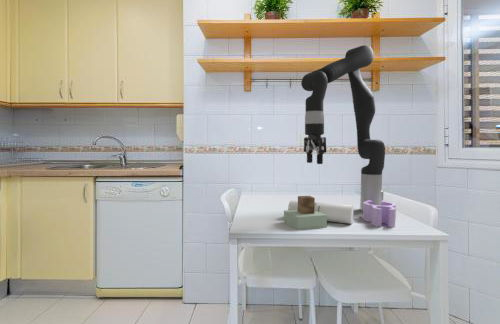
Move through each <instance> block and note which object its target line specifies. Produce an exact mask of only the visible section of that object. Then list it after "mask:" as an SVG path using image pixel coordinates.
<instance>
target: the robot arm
mask: <svg viewBox="0 0 500 324" xmlns="http://www.w3.org/2000/svg"><path fill="white" fill-rule="evenodd" d="M374 57H375V55H374V50H373V48H372V47H371V46H369V45H365V44H363V45H360V46H357V47H354V48H351V49H348V50H347V51H346V53H345V56H344V57H343V58H341V59H338V60H337V59H336V61H333V62H331V63H328V64H326V65H325V66H323V67H321V68H319V69H316V70H313V71H311V72H308V73H306V74H305V75H303V77H302V78H301V88H302V89H303V90H304V91H307V92H311V94H310V96H307V98H306V99H305V115H304V135H305V136H308V137H304V139H303V153H304V152H305V154H306V163H308V164H310V163H311V164H312V163H313V152H314V151H315V152H316V164H317V165H323V164H324V163H323V162H324V159H323V158H324V157H323V156H324V154H325V153H327V139H326V136H325V137H324V136H323V135H324V134H325V116H324V115H325V114H324V100H325V98H326V97H325V96H326V92H327V89H328V84H331V83H333V82H334V81H336V80H338V79H340V78H341V77H344V76H345V75H347V76H348V80H349V85H350V88H351V89H350V90H351V96H352V105H353V112H354V116H355V117H354V118H355V124H356V125H355V126H356V127H355V128H356V138H357V140H356V142H357V143H356V144H357V152H358V153H357V154H358V155H359V157H360V158H361V159H363V160H369V161H368V164H367V165H365V166H363V167H361V169H360V197H359V198H360V201H359V202H360V205H359V208H360V209H359V210H360V211H362V212H363V202H365V201H367V200H371V201H373V205H380V206H381V201H384V190H382V189H383V170H384V168H385V158H386V145H385V143H384V142H383V140H381V139H371V134H370V127H371V124H372V122H373V120H374V117H375V114H376V102H375V96H374V94H373V92H372V91H371V90H370V88H369V86H367V84H366V83H365V82H364V79H363V78H362V74H361V69H362V68H366V67H368V66H370V65H371V64H372V63H373V61H374V59H375V58H374ZM322 136H323V137H322Z"/></svg>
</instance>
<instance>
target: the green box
mask: <svg viewBox="0 0 500 324" xmlns="http://www.w3.org/2000/svg"><path fill="white" fill-rule="evenodd" d="M283 223H284V224H287V225H288V226H290V227H292V228H294V229H296V230H297V231H298V230H301V231H302V230H309V229H310V230H311V229H321V228H324V229H325V228H327V227H328V221H327V215H325V214H323V213H320V212H318V211H315V210H314V214H301V213H300V212H298V210H288V209H287V210H283Z"/></svg>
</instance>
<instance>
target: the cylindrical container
mask: <svg viewBox="0 0 500 324" xmlns="http://www.w3.org/2000/svg"><path fill="white" fill-rule="evenodd" d="M287 210H298V200H293V199H291V200H290V201H289V203H288V207H287ZM315 211H318V212H320V213H323V214H325V215H327V222H331V223H338V224H339V223H340V224H348V225H352V224H353V223H354V205H351V204H339V203H328V202H315Z"/></svg>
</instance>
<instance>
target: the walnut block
mask: <svg viewBox="0 0 500 324" xmlns="http://www.w3.org/2000/svg"><path fill="white" fill-rule="evenodd" d="M297 201H298V212H300V213H301V214H314V210H315V201H316V198H315V197H313V196H311V195H298V196H297Z"/></svg>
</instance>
